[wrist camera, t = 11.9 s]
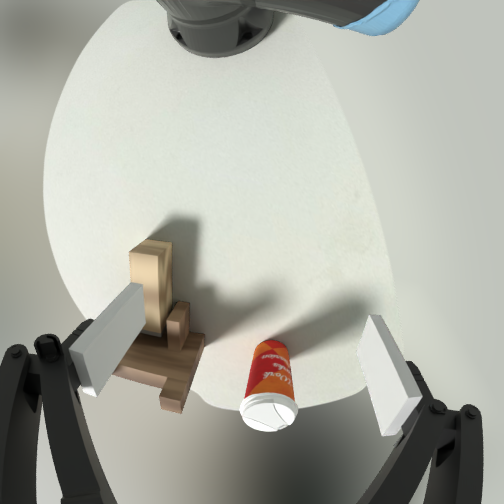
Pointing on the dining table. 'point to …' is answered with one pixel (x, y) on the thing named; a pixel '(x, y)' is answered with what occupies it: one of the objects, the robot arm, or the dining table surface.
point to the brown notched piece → (165, 359)
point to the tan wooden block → (153, 282)
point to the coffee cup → (269, 389)
